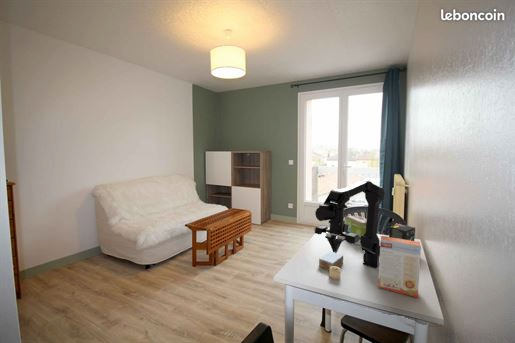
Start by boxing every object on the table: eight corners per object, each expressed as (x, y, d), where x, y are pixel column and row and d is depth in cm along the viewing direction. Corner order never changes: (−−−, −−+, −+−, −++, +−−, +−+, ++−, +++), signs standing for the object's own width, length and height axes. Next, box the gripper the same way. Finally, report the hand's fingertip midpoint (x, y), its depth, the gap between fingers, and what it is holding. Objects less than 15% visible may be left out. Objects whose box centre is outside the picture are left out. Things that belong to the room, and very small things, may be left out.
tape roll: (342, 277, 107) (342, 268, 107) (337, 281, 104) (337, 272, 103) (332, 273, 111) (332, 264, 110) (327, 277, 107) (327, 268, 107)
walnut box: (342, 263, 121) (343, 256, 121) (332, 271, 112) (332, 264, 112) (330, 258, 126) (330, 252, 125) (319, 266, 117) (319, 259, 117)
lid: (343, 256, 121) (343, 255, 121) (332, 264, 112) (332, 263, 112) (330, 252, 125) (330, 251, 125) (319, 259, 117) (319, 258, 117)
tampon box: (397, 246, 143) (398, 223, 142) (414, 252, 136) (415, 227, 134) (387, 250, 137) (389, 226, 136) (404, 256, 130) (406, 230, 129)
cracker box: (416, 290, 97) (420, 241, 96) (418, 298, 92) (421, 246, 90) (378, 281, 104) (381, 234, 103) (377, 287, 99) (380, 239, 98)
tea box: (344, 237, 158) (345, 215, 157) (356, 236, 161) (357, 214, 160) (360, 246, 144) (361, 222, 143) (373, 244, 147) (374, 220, 146)
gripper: (364, 219, 105) (362, 253, 106) (326, 211, 118) (324, 242, 119) (355, 224, 97) (353, 261, 98) (314, 215, 110) (313, 248, 111)
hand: (335, 252), depth 107 cm, fingers closed
